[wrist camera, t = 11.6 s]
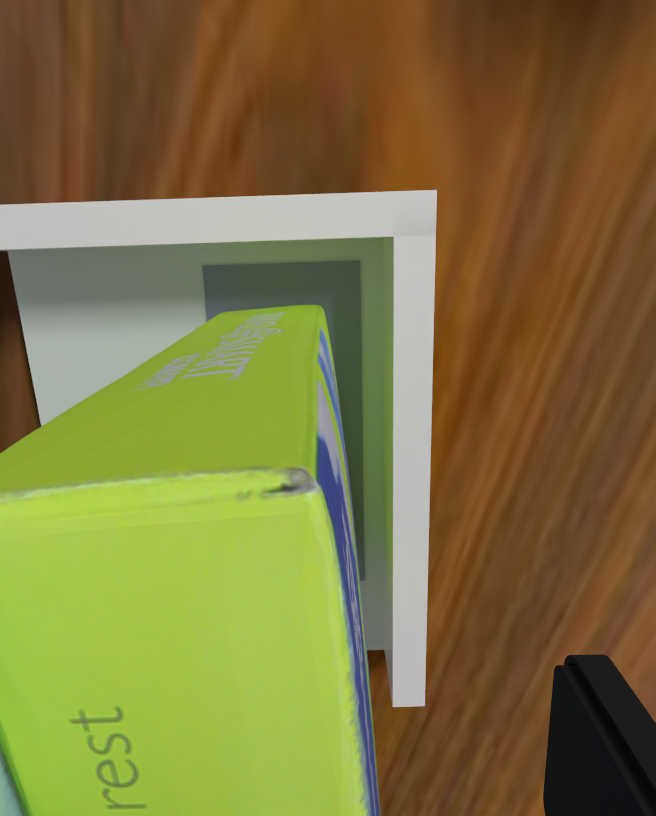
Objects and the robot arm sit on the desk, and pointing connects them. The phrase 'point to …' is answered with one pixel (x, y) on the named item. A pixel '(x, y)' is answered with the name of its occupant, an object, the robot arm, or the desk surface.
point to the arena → (254, 289)
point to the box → (188, 589)
